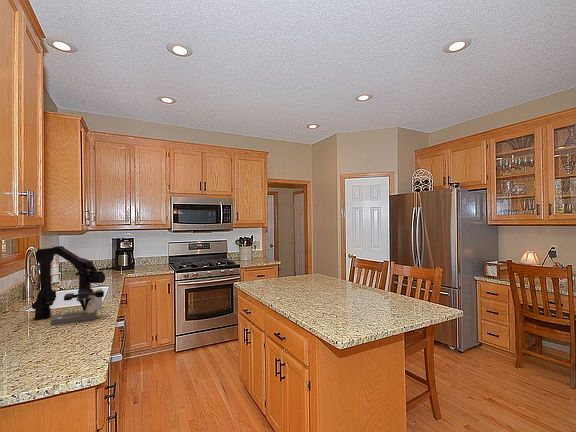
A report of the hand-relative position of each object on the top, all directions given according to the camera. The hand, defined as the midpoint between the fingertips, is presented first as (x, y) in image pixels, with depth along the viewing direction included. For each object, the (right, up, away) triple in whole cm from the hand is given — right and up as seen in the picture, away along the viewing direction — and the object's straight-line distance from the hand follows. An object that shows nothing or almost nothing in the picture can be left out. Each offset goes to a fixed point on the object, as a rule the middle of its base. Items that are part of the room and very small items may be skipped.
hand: (84, 310), depth 175 cm
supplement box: (-7, -5, +19) cm, 21 cm away
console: (-4, -5, -2) cm, 6 cm away
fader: (+3, -1, +2) cm, 3 cm away
